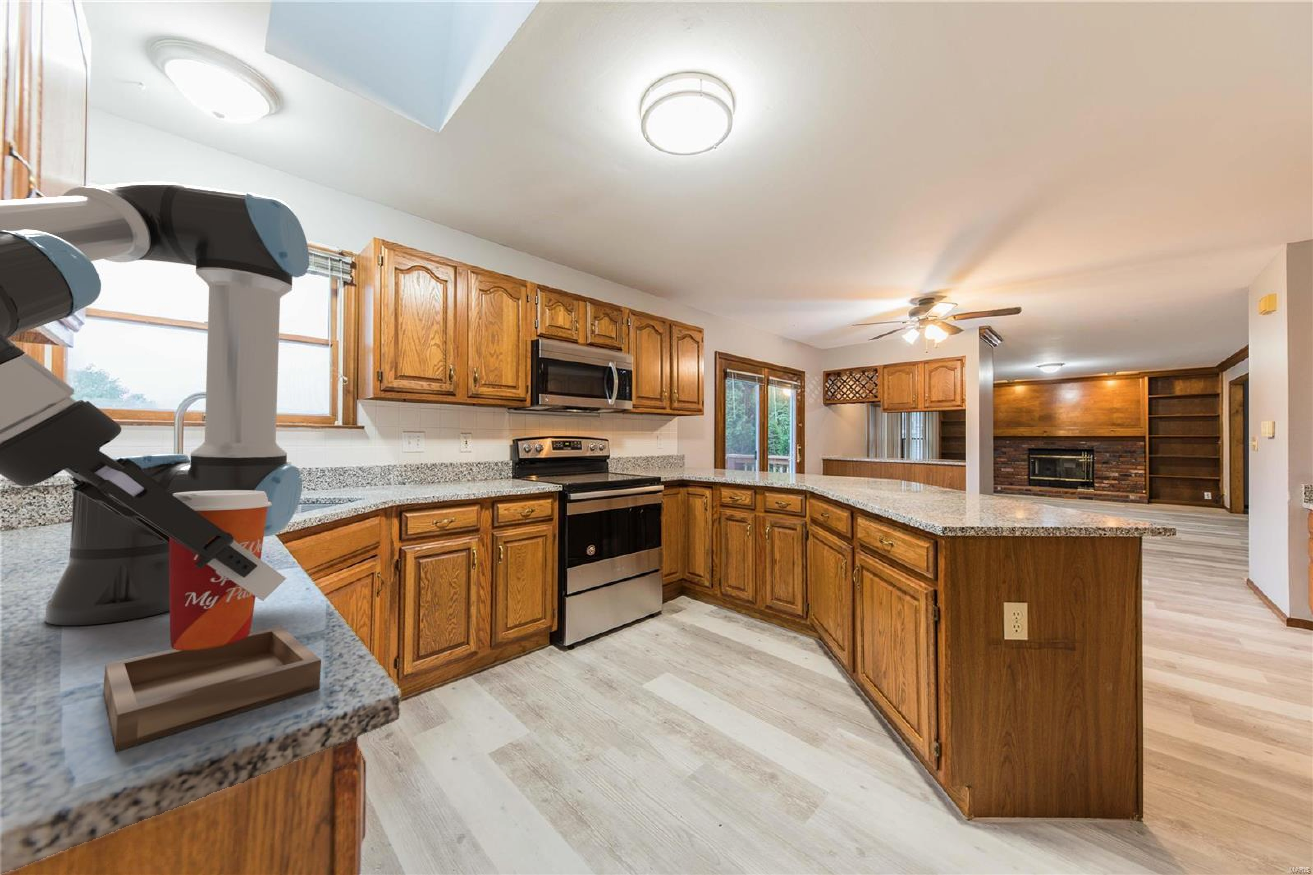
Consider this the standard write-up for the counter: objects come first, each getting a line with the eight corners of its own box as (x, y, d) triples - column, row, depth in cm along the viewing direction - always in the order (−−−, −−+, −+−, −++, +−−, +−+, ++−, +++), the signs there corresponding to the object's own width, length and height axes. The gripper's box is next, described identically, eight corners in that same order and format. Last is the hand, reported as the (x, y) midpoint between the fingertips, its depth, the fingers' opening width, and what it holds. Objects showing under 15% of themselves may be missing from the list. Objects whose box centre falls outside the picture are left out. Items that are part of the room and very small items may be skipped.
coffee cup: (197, 659, 44) (209, 496, 45) (130, 650, 46) (142, 493, 47) (284, 629, 53) (293, 491, 53) (224, 621, 54) (233, 488, 55)
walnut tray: (103, 693, 49) (105, 663, 49) (279, 650, 60) (280, 626, 60) (115, 752, 40) (117, 714, 40) (319, 688, 51) (321, 659, 51)
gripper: (-37, 452, 43) (193, 594, 56) (-23, 458, 32) (262, 635, 44) (62, 400, 48) (253, 542, 60) (105, 389, 36) (330, 567, 49)
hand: (257, 581), depth 52 cm, fingers closed on coffee cup, 8 cm apart
